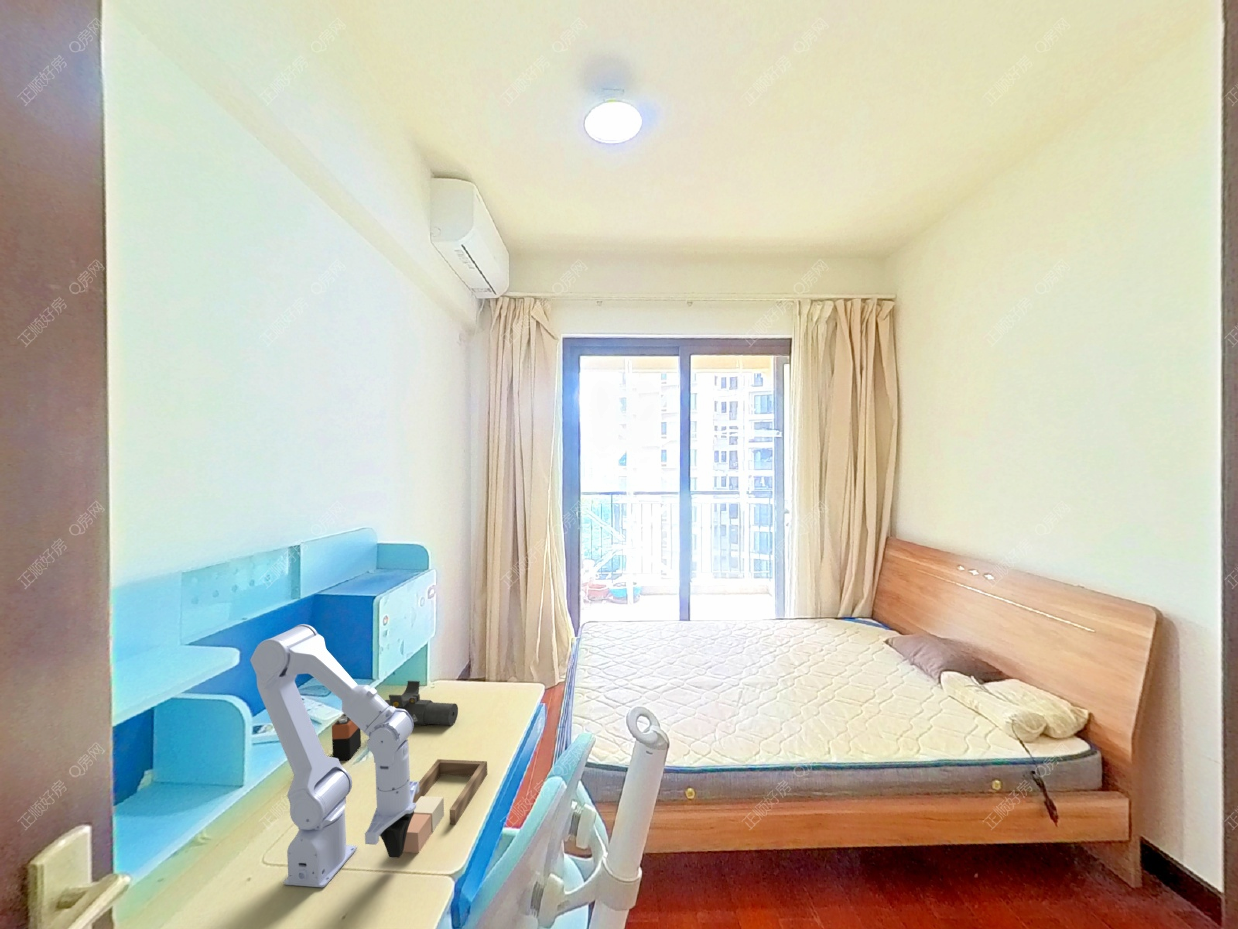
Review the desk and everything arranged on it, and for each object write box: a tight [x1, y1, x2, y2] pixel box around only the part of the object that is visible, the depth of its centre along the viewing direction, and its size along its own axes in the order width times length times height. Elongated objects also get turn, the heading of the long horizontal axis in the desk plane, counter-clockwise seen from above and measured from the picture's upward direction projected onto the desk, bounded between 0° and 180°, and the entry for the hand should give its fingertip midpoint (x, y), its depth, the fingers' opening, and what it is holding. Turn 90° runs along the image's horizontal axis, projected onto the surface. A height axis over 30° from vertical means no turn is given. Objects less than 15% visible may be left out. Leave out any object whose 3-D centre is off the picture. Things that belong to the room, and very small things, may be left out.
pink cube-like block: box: [403, 814, 432, 854], centre depth 102 cm, size 5×5×4 cm
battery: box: [331, 713, 362, 761], centre depth 134 cm, size 4×7×10 cm, turn 2°
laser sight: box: [384, 680, 459, 726], centre depth 150 cm, size 10×22×10 cm, turn 80°
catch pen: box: [413, 759, 488, 825], centre depth 116 cm, size 17×12×3 cm
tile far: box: [414, 795, 445, 833], centre depth 107 cm, size 5×5×4 cm
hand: (395, 855), depth 96 cm, fingers closed
